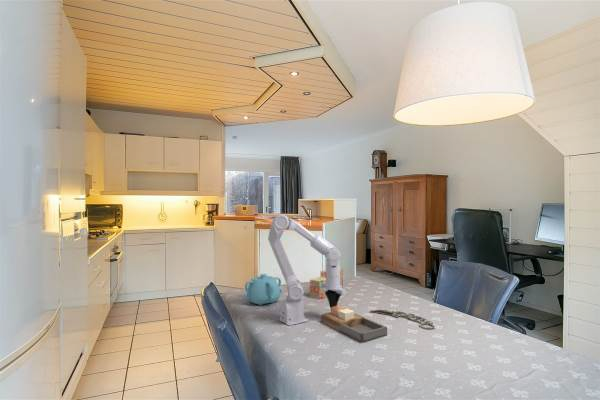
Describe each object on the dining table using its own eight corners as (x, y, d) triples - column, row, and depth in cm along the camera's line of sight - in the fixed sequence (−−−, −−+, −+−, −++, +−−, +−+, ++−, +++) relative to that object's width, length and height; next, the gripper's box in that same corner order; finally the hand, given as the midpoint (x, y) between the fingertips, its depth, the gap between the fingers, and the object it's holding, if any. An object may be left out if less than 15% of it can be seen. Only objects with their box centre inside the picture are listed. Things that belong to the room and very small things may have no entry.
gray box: (361, 343, 112) (361, 334, 112) (340, 331, 123) (339, 323, 123) (387, 335, 118) (387, 327, 118) (364, 325, 129) (364, 317, 129)
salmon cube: (337, 316, 130) (337, 310, 130) (330, 313, 134) (330, 307, 134) (346, 314, 132) (346, 308, 132) (339, 311, 136) (339, 305, 136)
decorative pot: (257, 296, 172) (256, 270, 172) (285, 298, 166) (284, 271, 166) (240, 305, 157) (240, 276, 157) (271, 308, 151) (270, 278, 151)
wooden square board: (339, 331, 123) (339, 323, 123) (321, 321, 133) (321, 314, 133) (364, 325, 129) (364, 317, 129) (344, 316, 139) (344, 309, 139)
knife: (368, 310, 144) (382, 304, 150) (368, 314, 144) (383, 308, 150) (428, 329, 122) (442, 322, 128) (428, 334, 122) (442, 326, 128)
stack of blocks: (319, 300, 164) (319, 275, 164) (309, 297, 168) (309, 273, 168) (343, 291, 180) (342, 268, 180) (333, 289, 184) (333, 267, 184)
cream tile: (345, 320, 126) (345, 313, 126) (338, 317, 130) (338, 310, 130) (354, 318, 128) (354, 311, 128) (347, 315, 132) (347, 308, 132)
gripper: (351, 277, 132) (352, 311, 132) (330, 271, 144) (330, 302, 144) (337, 280, 128) (338, 315, 128) (316, 273, 141) (317, 305, 141)
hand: (333, 308), depth 136 cm, fingers closed
